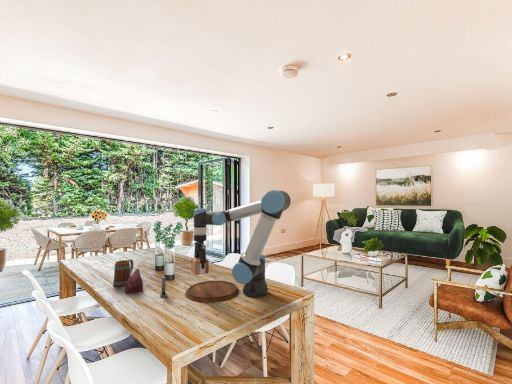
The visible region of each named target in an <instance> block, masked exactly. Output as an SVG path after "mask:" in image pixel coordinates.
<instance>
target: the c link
mask: <svg viewBox="0 0 512 384" xmlns="http://www.w3.org/2000/svg"><path fill="white" fill-rule="evenodd" d="M203 261H204V260H203ZM209 268H210V267H209V258H206V263H205V274H204V275H206V274H209V273H210V272H209V271H210V269H209ZM190 272H191V273H193V275H195V276H197V275H198V276H199V275H200V276H201V274H200V258H193V257H191V271H190Z"/></svg>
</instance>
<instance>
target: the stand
mask: <svg viewBox="0 0 512 384" xmlns="http://www.w3.org/2000/svg"><path fill="white" fill-rule="evenodd" d="M166 278H167V277H166V276H161V294H160V295H159V298H166V297H168V293H166V289H167V288H166V287H167V286H166V283H167V282H166Z"/></svg>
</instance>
